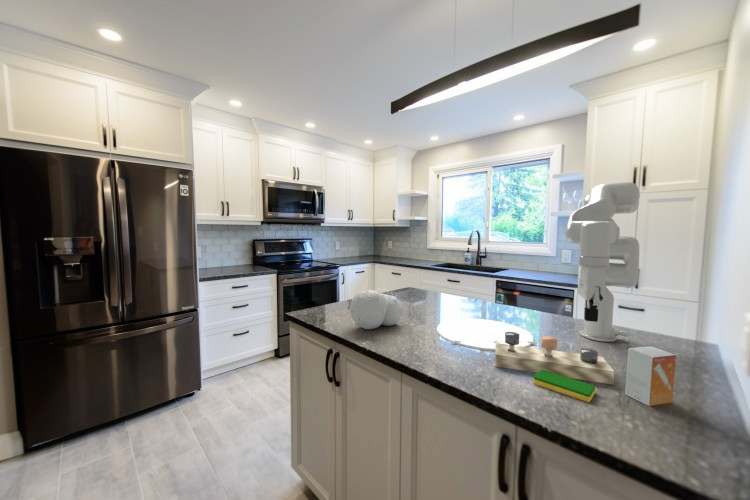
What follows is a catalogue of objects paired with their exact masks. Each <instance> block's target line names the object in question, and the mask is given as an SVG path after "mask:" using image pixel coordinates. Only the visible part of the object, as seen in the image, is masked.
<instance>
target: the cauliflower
mask: <svg viewBox="0 0 750 500" xmlns="http://www.w3.org/2000/svg"><path fill="white" fill-rule="evenodd" d="M349 313H350V317H351V318H352V321H353V322H354V323H355V324H356V325H357V326H358V327H360V328H362V329H364V330H374V329H377V328H379V327H380V326H381V325H382V326H386V327H388V326H393V325H396V324H397V323H399V321H401V319H402V317H403V313H404V308H403V305H402V302H401V300H400V299H399V298H398V297H396V296H395V295H389V294H386V293H382V292H379V291H377V290H373V289H367V290H362V291H360V292H358V293H356V294H355V295H354V296H353V298H352V300H351V302H350V307H349Z"/></svg>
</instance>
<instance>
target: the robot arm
mask: <svg viewBox="0 0 750 500" xmlns="http://www.w3.org/2000/svg"><path fill="white" fill-rule="evenodd" d="M640 194H641V192H640V188H639V186H638V185H637V184H636V183H634V182H615V183H613V182H612V183H602V184H599V185H598V184H597V185H596V186H594V187H593V188H592V189H591V190H590V192H589V195H587V196H585V197H584V198H583V206H582V207H580V208H578V209H577V210H575V211H573V212H571V214H570V215H569V218H568V220H567V224H566V227H565V239H566V240H567V241H568V243H571V244H578V245H579V251H578V252H579V253H578V257H579V258H578V267H580V270H579V281H578V287H577V288H578V289H577V293H578V295H579V296H580V297H581V298H583V299H584V315H583V319H584V323H583V325H584V326H583V329H581V330H579V334H580V336H581V337H583V338H586V339H589V340H593V341H597V342H603V343H604V342H606V343H610V342H616V341H617V336H620V337H627V335H628V334H627V331H625V330H621V329H615V328H614V327H613V321H614V320H613V319H614V305H615V304H614V302H615V298H614V294H613V292H611V290H610V289H608V287H617V288H618V287H619V288H634V287H636V286H637V285H638V283H639V276H640V275H639V271H640V243H639V240H638V239H637V238H636V237H633V236H620V235H621V231H620V230H621V229H620V226H618V224H617V223H616V222H615V220H614V219H613V217H614V216H615V215H616V214H617V215H618V214H632V213H635V212H636V211H637V210H638V207H639V204H640V197H641V195H640ZM610 260H612V261H613V260H616V261H617V260H619V261H622V262H624V263H621V262H620V263H619V262H610Z"/></svg>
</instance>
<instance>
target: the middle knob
mask: <svg viewBox="0 0 750 500" xmlns="http://www.w3.org/2000/svg"><path fill="white" fill-rule="evenodd" d="M540 345H541V346H540V347H541V348H542V349H546V357H551V354H552V350H553V351H557V349H558V338H556V337H554V336H552V335H542V336H541V342H540Z"/></svg>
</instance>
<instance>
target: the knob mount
mask: <svg viewBox="0 0 750 500" xmlns="http://www.w3.org/2000/svg"><path fill="white" fill-rule="evenodd" d="M494 360H495V363H494V364H495V367H498V368H506V369H511V370H518V371H522V372H523V371H524V372H530V373H535V374H537V373H538V372H539V371H540V370H545V371H548V372H551V373H554V374H558V375H561V376H564V377H568V378H571V379H574V380H579V381H587V382H595V383H600V384H606V385H614V383H615V382H614V381H615V370H614V369H613V368H612V367H611V366H610V364H609V363H608V361H606V360H605V358H604V357H603V356H599V355H598V359H597V363H587V362H584V361H582V360H581V359H580V353H576V352H575V353H574V352H568V351H567V352H566V351H561V350H560V351H558V350H552V354H551V357H546V349H545V348H536V347H531V346H529V347H522V346H515V345H514V352H509V345H507V344H499V343H496V351H495V359H494Z"/></svg>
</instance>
